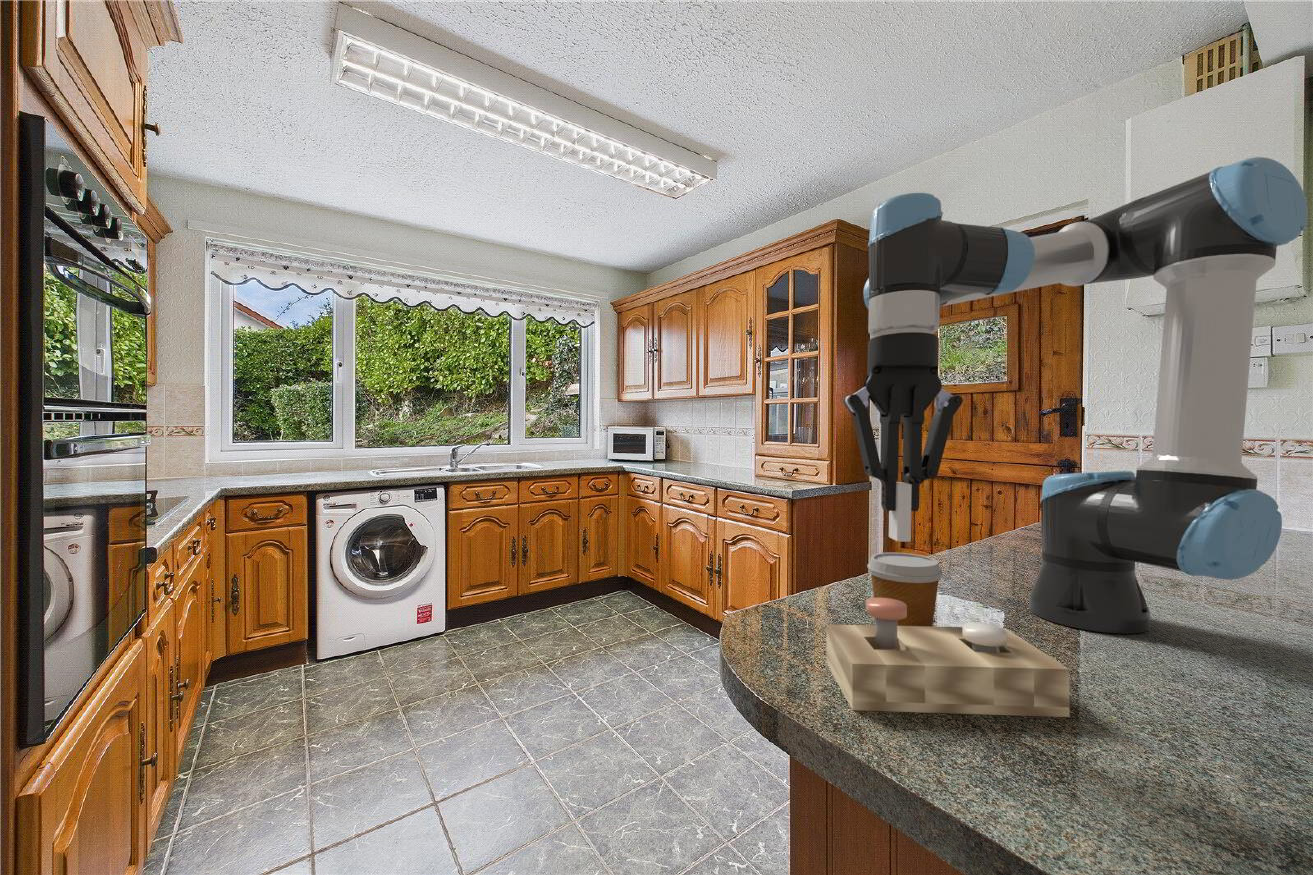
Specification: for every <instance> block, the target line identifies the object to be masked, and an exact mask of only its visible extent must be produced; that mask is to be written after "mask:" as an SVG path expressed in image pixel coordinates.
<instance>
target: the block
mask: <svg viewBox="0 0 1313 875" xmlns="http://www.w3.org/2000/svg"><path fill="white" fill-rule="evenodd" d="M825 627H826V631H825V632H826V634H825V635H826V643H825V644H826V650H825V651H826V652H825V653H826V654H825V656H826V665H827V667H828V669H829V671H830V672H831V674H832V676H833V677H834V679H835V681H836V683H837V685H838V687H839V688H840V690H841V693H842V694H843V696H844V697H845V699H846V701H847V702H848V705H849V706H850V708H851V710H852V711H862V712H863V711H865V712H866V711H867V712H893V713H896V712H898V713H927V714H928V713H929V714H955V715H956V714H960V715H989V716H991V715H993V716H1022V717H1023V716H1024V717H1025V716H1027V717H1028V716H1029V717H1049V718H1050V717H1054V718H1065V717H1066V718H1070V668H1068V667H1067V666H1065V665H1064V664H1062V663H1060V662H1059V661H1058V660H1056V659H1054V658H1053V657H1052V656H1050V655H1048V654H1046V653H1045V652H1043V651H1042V650H1040V649H1038V648H1037V647H1036V646H1034V645H1033V644H1031V643H1029V642H1028V641H1026V640H1025V639H1024V638H1021V637H1020V636H1018V635H1017V634H1016V633H1014V632H1012V631H1011V630H1009V629H1008V628H1006V627H1002V628H1003V629H1005V630H1006V631H1007V644H1006V645H1004V646H999V647H996V653H995V652H974V651H973V650H972V642H969V641H967V640H966V639H964V638H963V636H962V626H933V625H932V626H897V648H895V649H884V648H881V647H878V646H876V645H875V624H874V625H873V624H872V625H871V624H866V625H865V624H829V623H828V624H826V626H825Z"/></svg>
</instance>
